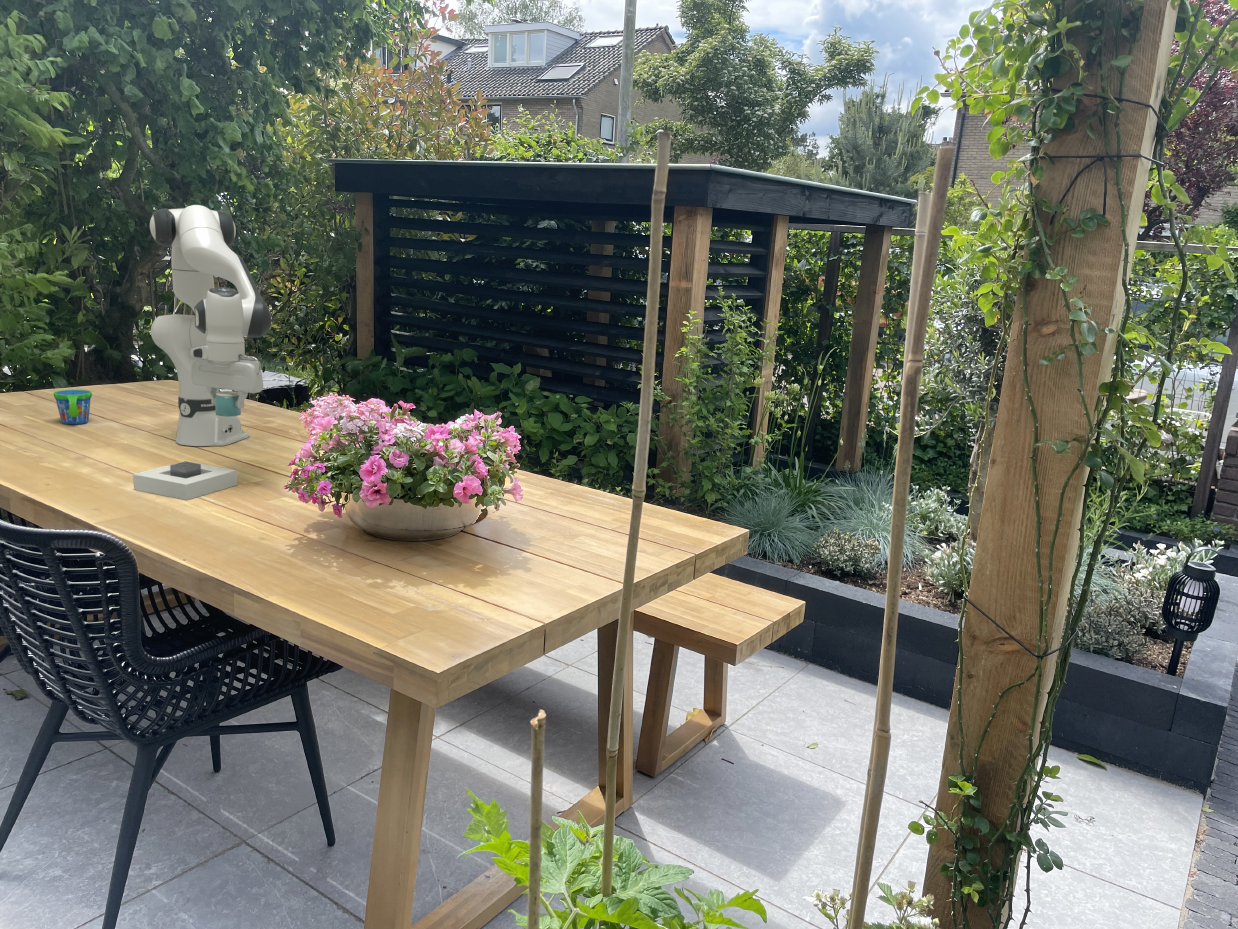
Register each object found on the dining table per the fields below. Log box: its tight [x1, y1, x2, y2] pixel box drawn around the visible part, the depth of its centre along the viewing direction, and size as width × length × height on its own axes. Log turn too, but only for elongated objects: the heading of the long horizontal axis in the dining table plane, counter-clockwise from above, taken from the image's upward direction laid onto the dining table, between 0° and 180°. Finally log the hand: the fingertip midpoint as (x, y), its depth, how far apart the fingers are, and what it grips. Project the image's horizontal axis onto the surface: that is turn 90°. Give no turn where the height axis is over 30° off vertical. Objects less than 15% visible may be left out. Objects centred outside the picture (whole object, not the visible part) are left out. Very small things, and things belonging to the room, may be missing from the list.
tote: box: [132, 460, 238, 501], centre depth 228 cm, size 17×17×4 cm
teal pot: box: [215, 390, 242, 417], centre depth 229 cm, size 6×6×6 cm
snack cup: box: [53, 389, 93, 425], centre depth 287 cm, size 16×10×10 cm
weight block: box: [169, 460, 202, 478], centre depth 228 cm, size 5×5×5 cm
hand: (227, 406), depth 229 cm, fingers closed on teal pot, 6 cm apart
